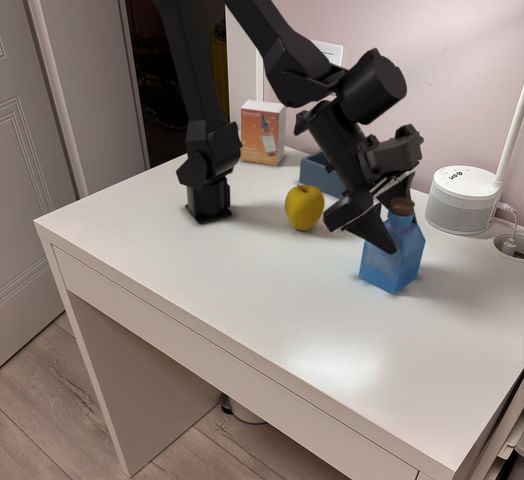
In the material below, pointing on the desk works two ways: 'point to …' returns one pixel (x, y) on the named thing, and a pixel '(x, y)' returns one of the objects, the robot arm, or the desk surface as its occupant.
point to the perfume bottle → (404, 260)
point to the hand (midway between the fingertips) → (404, 241)
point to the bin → (320, 175)
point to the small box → (262, 132)
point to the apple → (304, 206)
